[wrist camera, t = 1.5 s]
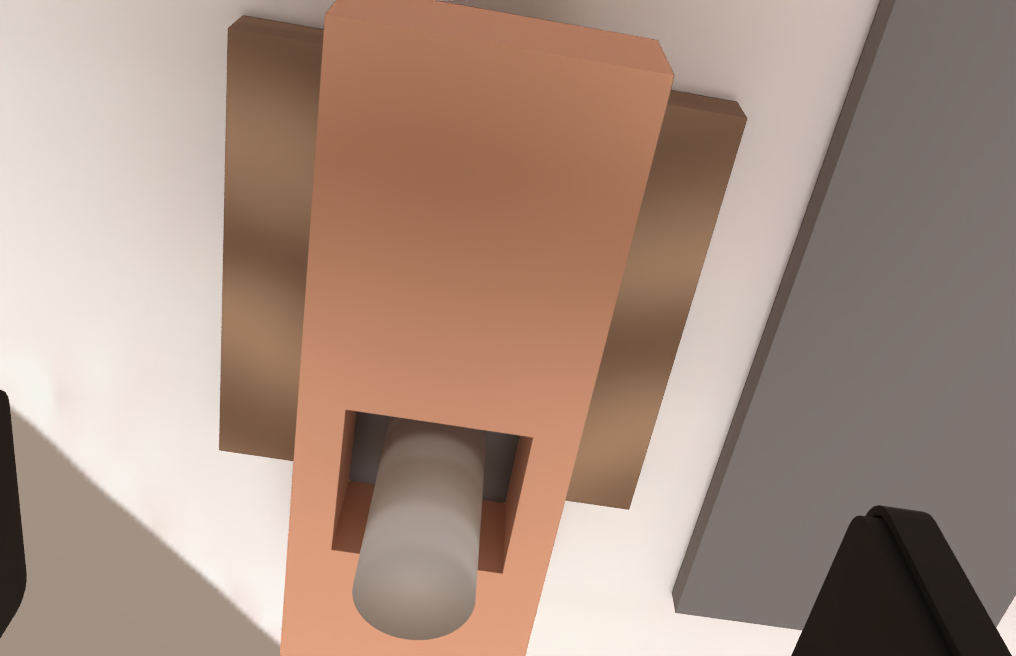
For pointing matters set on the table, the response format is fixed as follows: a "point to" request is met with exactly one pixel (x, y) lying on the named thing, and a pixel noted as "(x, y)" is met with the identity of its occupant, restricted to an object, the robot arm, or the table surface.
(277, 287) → the stand
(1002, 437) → the mat
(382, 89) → the link
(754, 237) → the table surface
